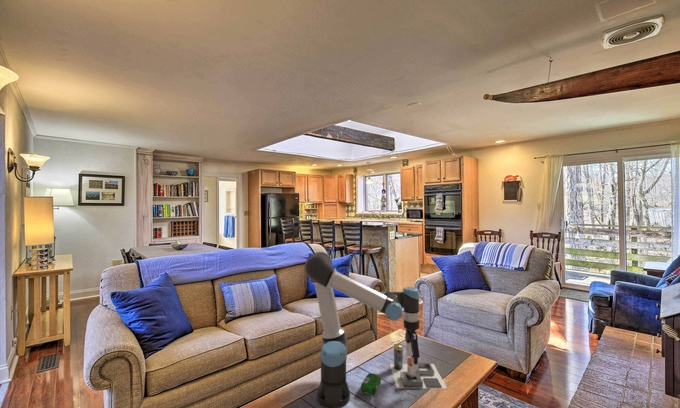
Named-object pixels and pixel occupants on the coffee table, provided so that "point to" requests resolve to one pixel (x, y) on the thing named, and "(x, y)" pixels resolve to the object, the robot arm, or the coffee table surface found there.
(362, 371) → the coffee table surface
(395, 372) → the dock board
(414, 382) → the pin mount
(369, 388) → the snack package
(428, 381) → the pin pad
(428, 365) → the socket
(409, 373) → the lock pin
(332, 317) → the robot arm
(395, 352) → the cylinder
